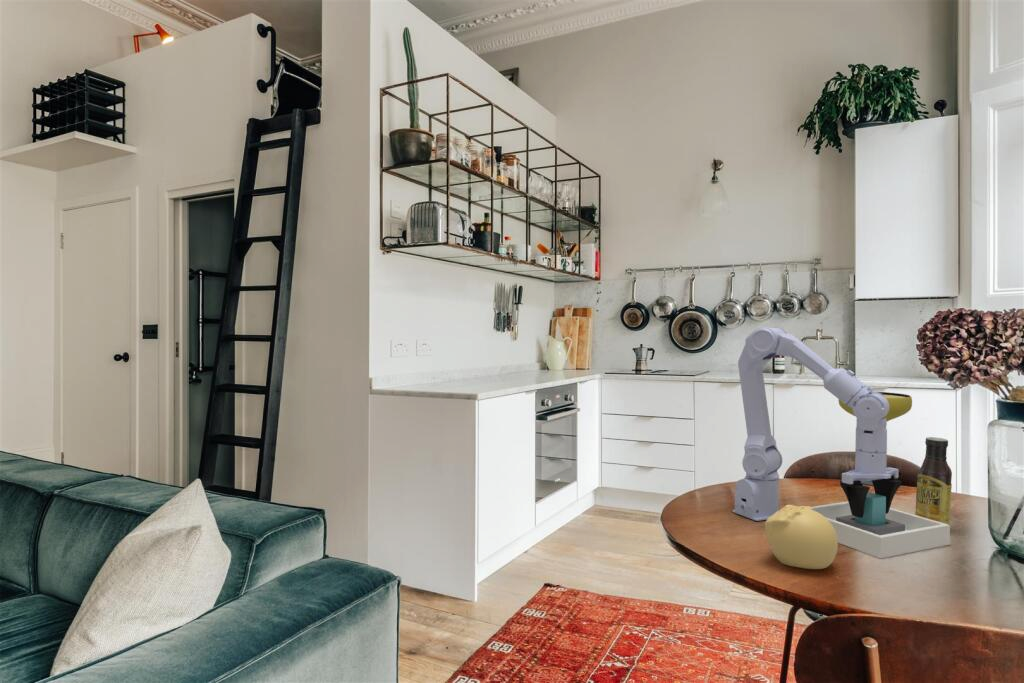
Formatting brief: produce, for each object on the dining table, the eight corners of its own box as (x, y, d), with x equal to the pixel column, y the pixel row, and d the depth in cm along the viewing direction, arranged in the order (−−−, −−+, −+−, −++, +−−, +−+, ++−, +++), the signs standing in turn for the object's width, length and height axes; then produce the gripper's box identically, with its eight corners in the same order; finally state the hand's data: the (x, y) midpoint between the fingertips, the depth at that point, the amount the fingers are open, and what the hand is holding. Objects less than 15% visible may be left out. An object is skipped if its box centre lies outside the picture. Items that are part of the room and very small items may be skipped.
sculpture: (783, 547, 123) (783, 494, 123) (847, 565, 114) (847, 507, 114) (755, 562, 115) (755, 505, 115) (821, 582, 106) (822, 520, 106)
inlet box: (880, 558, 117) (881, 537, 117) (796, 527, 136) (796, 509, 136) (949, 544, 125) (950, 525, 125) (860, 516, 143) (860, 499, 143)
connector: (872, 536, 127) (872, 498, 127) (854, 531, 131) (855, 493, 131) (885, 534, 129) (885, 496, 129) (867, 528, 133) (868, 491, 133)
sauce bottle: (908, 525, 137) (909, 436, 136) (928, 522, 139) (929, 434, 138) (937, 534, 131) (939, 441, 130) (957, 531, 133) (959, 439, 132)
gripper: (863, 456, 123) (862, 524, 124) (912, 451, 129) (911, 515, 129) (833, 450, 130) (832, 514, 130) (881, 445, 135) (880, 506, 136)
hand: (870, 514), depth 130 cm, fingers open, 7 cm apart
